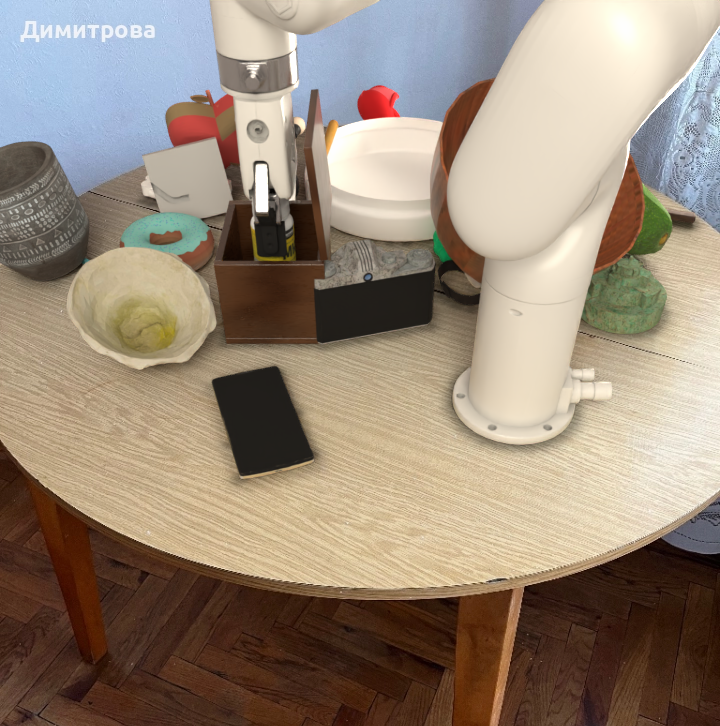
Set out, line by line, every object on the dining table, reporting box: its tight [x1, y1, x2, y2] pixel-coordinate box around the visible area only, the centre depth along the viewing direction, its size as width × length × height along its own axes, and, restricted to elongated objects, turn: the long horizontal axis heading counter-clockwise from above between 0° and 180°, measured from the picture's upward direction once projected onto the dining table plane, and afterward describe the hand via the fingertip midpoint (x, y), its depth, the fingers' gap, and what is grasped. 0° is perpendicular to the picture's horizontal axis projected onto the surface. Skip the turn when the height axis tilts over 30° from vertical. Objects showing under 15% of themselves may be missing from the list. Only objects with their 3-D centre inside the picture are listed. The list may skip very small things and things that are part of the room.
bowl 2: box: [430, 76, 645, 284], centre depth 89 cm, size 25×25×11 cm
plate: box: [303, 116, 443, 243], centre depth 110 cm, size 27×27×6 cm
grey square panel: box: [141, 137, 234, 219], centre depth 106 cm, size 12×11×4 cm
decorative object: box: [164, 89, 240, 170], centre depth 108 cm, size 14×4×15 cm
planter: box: [0, 140, 90, 282], centre depth 94 cm, size 12×12×13 cm
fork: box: [307, 119, 340, 181], centre depth 107 cm, size 2×2×20 cm
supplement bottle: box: [251, 198, 296, 261], centre depth 86 cm, size 5×5×8 cm
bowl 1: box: [65, 247, 218, 371], centre depth 84 cm, size 15×14×10 cm
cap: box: [356, 84, 401, 121], centre depth 125 cm, size 8×6×6 cm
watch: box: [437, 260, 481, 306], centre depth 93 cm, size 8×5×4 cm, turn 31°
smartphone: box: [211, 365, 315, 480], centre depth 79 cm, size 7×1×15 cm
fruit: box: [625, 182, 673, 256], centre depth 99 cm, size 15×10×10 cm
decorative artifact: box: [581, 255, 668, 335], centre depth 90 cm, size 10×7×10 cm
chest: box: [213, 199, 332, 345], centre depth 89 cm, size 12×14×10 cm
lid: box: [303, 88, 332, 261], centre depth 81 cm, size 12×14×1 cm
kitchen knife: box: [665, 207, 697, 224], centre depth 108 cm, size 18×1×2 cm
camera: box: [314, 238, 437, 345], centre depth 88 cm, size 15×7×10 cm, turn 106°
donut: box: [118, 212, 216, 272], centre depth 99 cm, size 12×12×4 cm
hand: (274, 240), depth 86 cm, fingers closed on supplement bottle, 4 cm apart
